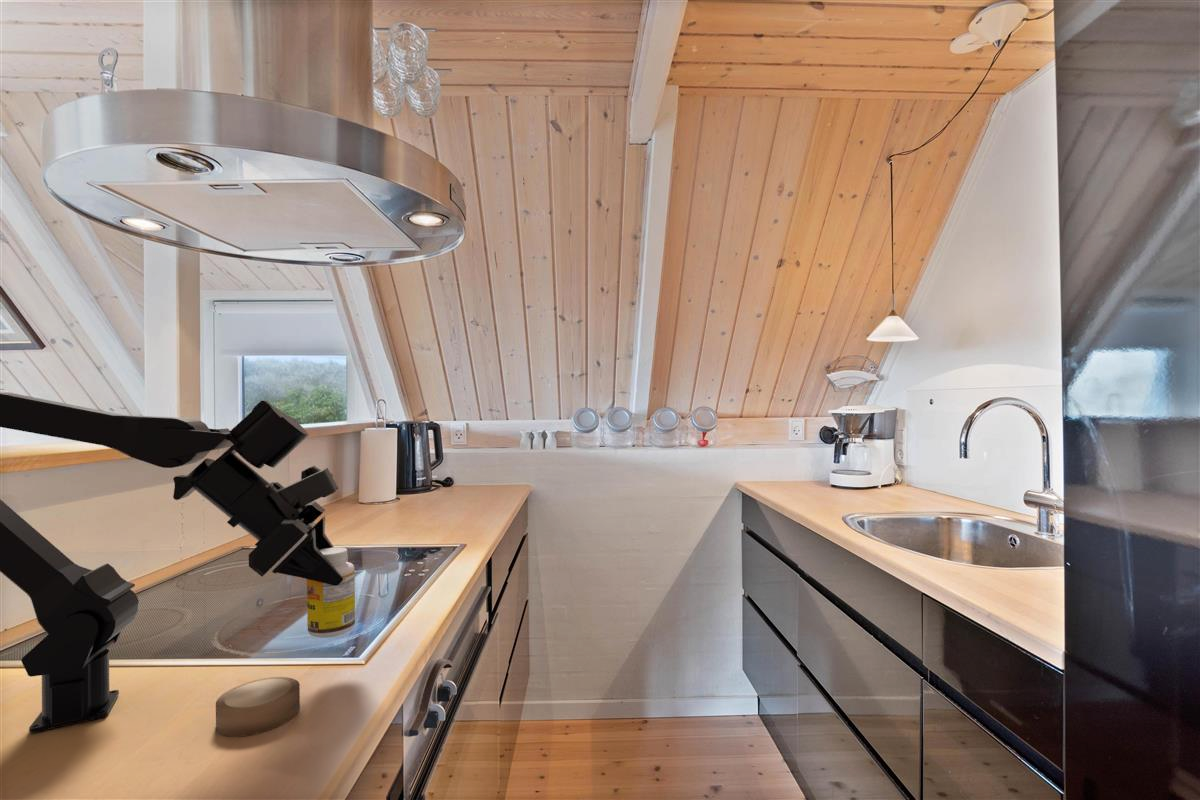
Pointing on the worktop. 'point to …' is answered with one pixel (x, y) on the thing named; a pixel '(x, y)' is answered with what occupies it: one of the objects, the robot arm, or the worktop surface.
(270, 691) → the walnut stand
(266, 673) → the worktop surface
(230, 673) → the worktop surface
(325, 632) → the supplement bottle
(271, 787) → the worktop surface
